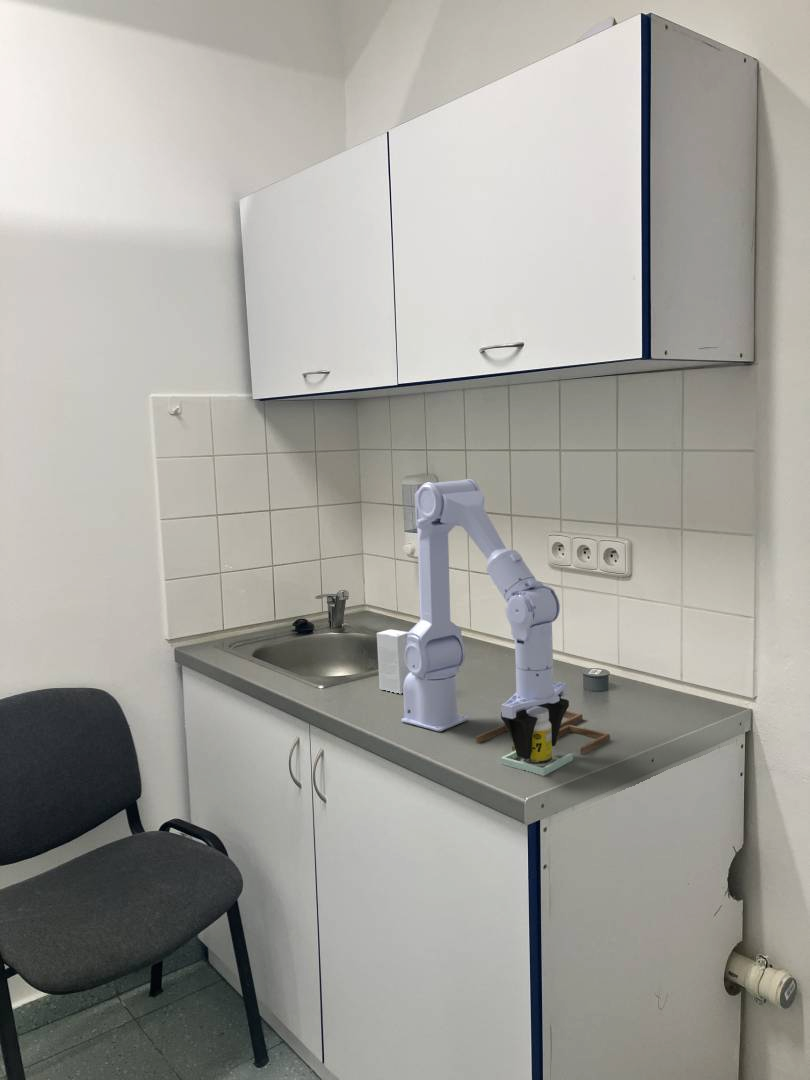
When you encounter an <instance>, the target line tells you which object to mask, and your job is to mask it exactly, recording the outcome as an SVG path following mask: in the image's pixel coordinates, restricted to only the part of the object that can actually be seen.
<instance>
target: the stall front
mask: <svg viewBox="0 0 810 1080" xmlns="http://www.w3.org/2000/svg"><path fill="white" fill-rule="evenodd" d="M568 733H573V734H578V735H582V736H586V737H590V738H594V740H592V741H591V742H588V743H587V744H585V745H583V746H581V747H580V754H581V755H585V754H587V753H588V752H590V751H592V750H594V749H596V748H598V747H600V746H601V745H603V744H605V743H607V742H609V741H610V739H611V736H610V733H608V732H607V733H606V732H603V731H598V730H594V729H590V728H589V729H588V728H584V727H581V726H576V725H567V726H565V727H563V728H561V729H559V733H558V737H557V739H558V738H560V737H562V736H563V735H565V734H568Z"/></svg>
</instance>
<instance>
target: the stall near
mask: <svg viewBox="0 0 810 1080" xmlns="http://www.w3.org/2000/svg"><path fill="white" fill-rule="evenodd" d="M504 732H508V733H510V732H509V730H508V728H507V727H506V725H505V723H504V724H501V725H500V726H497V727H495V728H493V729H491V730H488V731H486V732H483V733H480V734H479V735H477V736H475V743H476V744H480V743H483V742H484V741H486V740H489V739H492V738H493V737H495V736H497V735H500V734H502V733H504ZM513 751H515V746H514V745H512V748H511V752H513Z"/></svg>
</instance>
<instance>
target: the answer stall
mask: <svg viewBox="0 0 810 1080" xmlns="http://www.w3.org/2000/svg"><path fill="white" fill-rule="evenodd" d="M516 759H518V758H517V753H516V750H515V751H513V752H512V751H511V752H510V753H508V754H506V755H504V756H501V757H500V764H501V765H503V766H508V767H510V768H514V769H518V770H521V769H522V770H521V771H524V770H526V771H525V772H528V771H530V772H529V773H531V772H533V773H532V774H535V773H536V775H538V774H539V775H540V776H543V777H544V776H546V775H549V774H550V773H552V772H553V771H556V770H557V769H559V768H561V767H563V766H564V765H566V764H568V763H570V762H572V761H574V754H573V753H571V752H568V754H566V755H564V756H562V757H560V758H559V759H556V760H555V761H552V762H551V763H550V764H549V765H547V766H544V767H538V766H534V765H531V764H527V763H523V762H522V761H519V760H516ZM539 775H538V776H539Z"/></svg>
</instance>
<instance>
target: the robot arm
mask: <svg viewBox="0 0 810 1080" xmlns="http://www.w3.org/2000/svg"><path fill="white" fill-rule="evenodd" d="M414 507H415V508H414V510H415V511H414V512H415V527H416V528H417V559H418V561H417V563H418V588H419V589H418V590H419V591H418V592H419V594H418V595H419V621H418V622H417V623H416V624H415V625H413V627H412V628H411V629H410V630H409V631H407V632H408V634H407V646H406V649H405V662H406V665H407V667H408V669H409V671H410V673H409V674H408V675H407V676H406V678H405V681H404V685H403V694H402V695H403V715H404V717H402V718H401V719H400V720H401V722H402V723H405V724H410V725H414V726H417V727H421V728H423V729H424V728H425V729H429V730H432V731H436V732H442V731H445V730H448V729H450V728H452V727H454V726H457V725H460V724H462V723H463V722H467V721H468V720H469V717H468V716H466V715H461V714H459V713H458V712H459V711H458V691H457V690H458V689H457V688H458V686H457V674H458V673H459V672H460V667H461V666H462V665H463V664H464V661H465V659H466V647H465V644H464V641H463V637H462V629H461V628H460V627H459V626H458V625H457V624H455V623H454V622H453V621H451V597H450V596H451V595H450V593H451V591H450V558H449V557H450V556H449V553H450V552H449V551H450V550H449V533H450V532H451V531H452V530H453V529H454V528H455V526H456V527H457V526H458V527H461V528H463V530H464V531H465V532H466V534H467V535H468V536H469V537H470V539H471V540H472V541H473V542H474V544H475V545H476V547H477V548H478V549H479V550H480V551H481V553H482V554H483V555H484V557H485V558H486V559H487V564H486V572H487V574H488V575H489V578H490V579H491V580H492V581H493V583H494V585H495V587H496V588H497V589H498V591H499V592H500V594H501V596H502V597H503V599H504V601H505V602H506V603H507V604H506V607H504V611H505V617H506V619H507V620H508V623H509V625H510V631H511V635H512V638H513V639H514V650H515V651H514V655H515V683H516V685H515V686H516V687H515V688H516V689H515V693H513V695H512V696H511V697H510V698H508V700H507V701H506V702H504V703H502V704H501V712H500V718H501V720H502V722H503V723H504V724H505V725H506V727H507V728H508V730H509V732H508V733H509V735H510V737H511V739H512V742H513V746H515V750H516V753H517V757H518V758H524V759H529V758H530V757H531V753H532V737H533V731H534V727H535V724H536V722H537V719H538V718H536V717H532V716H529V714H528V713H527V710H529V709H531V708H533V707H535V706H539V707H544V708H547V709H548V711H549V720H548V721H550V723H551V728H552V747H555V746H556V745H557V741H558V738H559V737H558V733H559V729H560V725H561V723H562V722H563V719H564V717H563V716H564V714H565V712H566V711H568V708H569V706H570V701H569V700H568V699H566V698H562V697H565V696H567V695H568V694H567V693H568V692H567V691H568V690H567V688H568V687H567V683H565V682H561V681H554V654H553V653H554V652H553V650H554V648H553V647H554V646H553V645H554V644H553V623H554V622H555V621H556V620H557V619H558V617H559V615H560V610H561V608H560V607H561V604H560V600H559V597H558V596H557V594H556V591H555V590H554V588H552V586H549V585H544V584H543V583H542V582H541V581H540V580H537V579H536V577H535V575H534V573H532V571H531V570H530V568H529V567H528V565H527V563H526V562H525V561H524V560H523V556H522V555H521V553H519V552H518V551H517V550H516V549H509V548H507V547H506V545H505V544H504V541H503V540H502V538H501V537H500V535H499V532H498V531H497V530H496V528H495V525H494V524H493V522H492V520H491V518H490V517H489V515H488V513H487V511H486V510H485V508H484V507H485V494H484V493H483V492H482V491H481V489H480V487H479V485H478V484H477V482H476V481H475V480H473V479H471V478H466V479H462V480H452V481H451V480H450V481H439V482H425V483H423V484H422V485H421V486H420V487H419V489H418V490H417V491H416V492H415V493H414ZM557 737H558V738H557Z"/></svg>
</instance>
